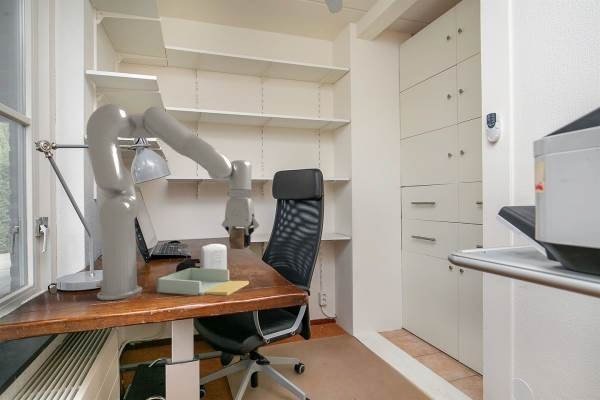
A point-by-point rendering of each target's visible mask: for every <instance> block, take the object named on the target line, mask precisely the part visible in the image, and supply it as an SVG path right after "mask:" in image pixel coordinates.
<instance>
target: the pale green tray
mask: <svg viewBox="0 0 600 400" xmlns="http://www.w3.org/2000/svg"><path fill="white" fill-rule="evenodd" d="M227 281H232V280H231V279H230V269H227V270H225V269H205V268H201V267H200V268H188V269H185V270H182V271H179V272H176V271H175V272H173V273H171V274H170V273H169V274H168V275H165V276H162V277H159V278H156V279H155V282H156V283H155V286H156V287H155V288H156V289H155V290H156V293H163V294H164V293H167V294H176V295H177V294H179V295H191V296H203V295H205V294H204V292H205V291H207V290H210V289H212V288H214V287H216V286H218V285H220V284H222V283H225V282H227Z"/></svg>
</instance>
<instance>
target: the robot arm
mask: <svg viewBox="0 0 600 400" xmlns="http://www.w3.org/2000/svg"><path fill="white" fill-rule="evenodd" d="M85 130H86V132H85V133H86V140H87V147H88V151H89V157H90V162H91V166H92V171H93V176H94V181H95V183H96V185H97V187H98V188H99V189H100V190H102V191H103V193H104V198H105V199H104V200H103V201H102V203H101V204H100V206H99V209H98V219H99V220H98V221H99V225H100V236H101V237H100V238H101V239H100V241H101V264H102V265H101V267H102V272H101V273H102V279H101V280H100V281H99V282H97V283H96V284H95V286H96V288H100V291H99V292H98V293H97V294H96V296H97V297H96V298H97V299H98V300H101V301H102V300H103V301H112V300H116V301H117V300H121V299H127V298H132V297H134V296H136V295H139V294H141V293H142V292H143V287H142V286H139V285H138V278H137V273H138V272H137V271H138V270H137V240H136V225H135V219H136V218H137V216H138V215H139V211H140V210H139V209H140V208H139V207H140V206H139V202H138V198H137V193H136V189H135V183H134V180H133V179H134V178H133V176H132V174H131V172H130V170H129V169H128V168H126V167H125V164H124V161H123V157H122V153H121V151H122V150H121V147H120V142H119V139H118V138H121V139H156V138H158V139H159V140H160V141H162V142H163V143H164V144H166V145H167V146H168V147H170V148H171V149H172V150H173V151H175V153H177V154H179V155H180V156H182V157H183V156H184V157H186V158H189V159H190V160H192V161H193V162H195V163H196V164H198V165H199V166H201V168H203V169H204V170H205V171H207V174H208V176H209V177H210V178H211V180H213V181H218V182H222V181H229V191H227V192H226V194H227V195H226V196H229V198H227V201H226V205H225V210H224V211H225V213H224V220H223V222H222V223H221V226H222V227H223V228H224V229H225V231H226V232H227V234H228V235H229V236H230V229H233V228H244V229H245V233H246V235H245V236H244V246H245V247H247V246H249V247H250V245H251V242H252V239H251V238H252V236H251V235H253V233H254V232H255V231H256V230H257V229H258V228H260V224H259V222H258V221H257V219H256V217H255V216H256V214H255V211H256V210H255V204H254V200H253V199H252V163H251V162H250V161H248V160H233V161H230V160H229V158H227V157H226V156H225V155H224V154H223V153H222V152H220V151H219V150H218V149H216V148H215V147H214V146H213V145H211V144H210V143H209V142H207V141H206V140H204V139H202V138H201V137H199V136H198V135H197V134H195V133H193V132H192V131H191V130H190V129H189V128H188V127H186V126H185V125H184V124H182V123H181V122H180V121H178V120H177V119H176V118H175V117H174V116H172V115H171V114H170V113H169V112H168V111H167V110H164V109H163V108H161V107H158V106H150V107H149V108H146V109H145V111H143V113H137V114H135V113H133V114H131V113H130V112H129V111H128V110H127V109H126V108H125V107H124V106H123V105H120V104H117V103H107V104H104V105H101V106H99V107H98V108H96V109H95V110H94V111H93V112H92V113H91V115H90V116H89V118H88V120H87V123H86V129H85ZM228 239H229V242H228V243H230V237H229V238H228Z"/></svg>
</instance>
